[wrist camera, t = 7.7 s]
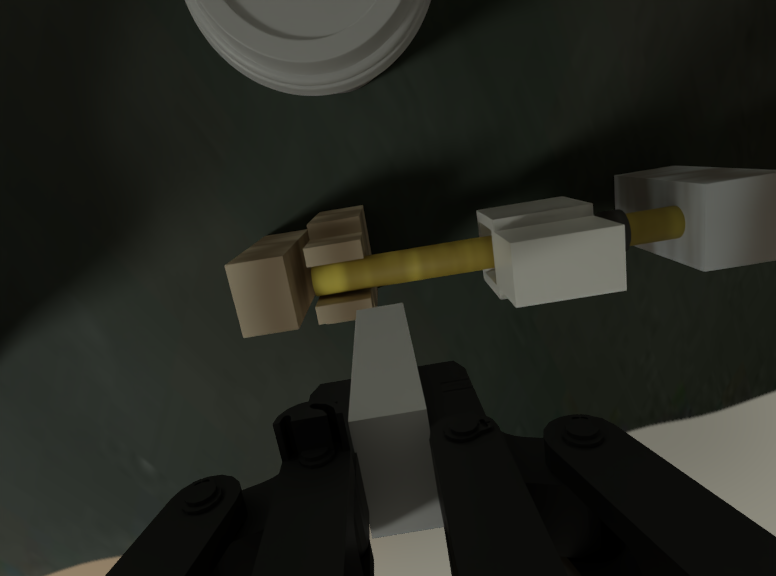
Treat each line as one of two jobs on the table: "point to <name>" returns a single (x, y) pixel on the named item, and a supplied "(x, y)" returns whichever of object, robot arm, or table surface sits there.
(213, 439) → the table surface
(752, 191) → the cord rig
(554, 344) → the table surface
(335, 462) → the robot arm
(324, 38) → the coffee cup
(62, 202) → the table surface
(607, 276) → the grey stepped block
